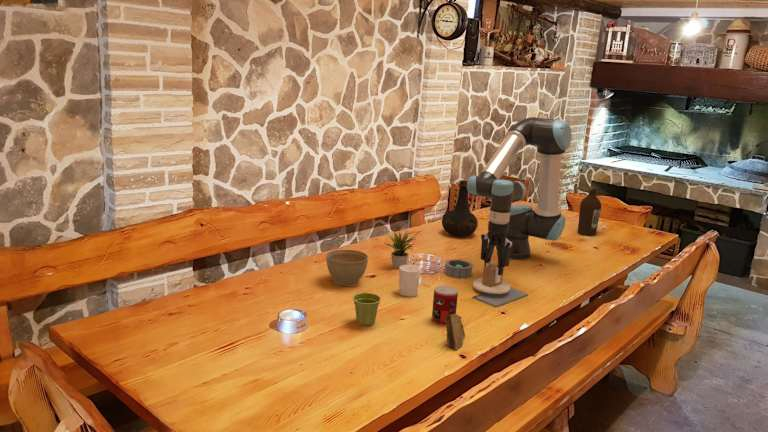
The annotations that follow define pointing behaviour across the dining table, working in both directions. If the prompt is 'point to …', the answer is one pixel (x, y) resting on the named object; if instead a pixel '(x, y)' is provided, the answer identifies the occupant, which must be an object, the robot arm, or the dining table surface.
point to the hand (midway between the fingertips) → (492, 280)
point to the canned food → (444, 303)
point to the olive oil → (589, 214)
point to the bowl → (458, 268)
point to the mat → (500, 297)
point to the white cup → (409, 280)
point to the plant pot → (366, 308)
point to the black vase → (460, 216)
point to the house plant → (400, 249)
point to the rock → (454, 331)
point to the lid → (491, 282)
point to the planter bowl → (346, 266)
